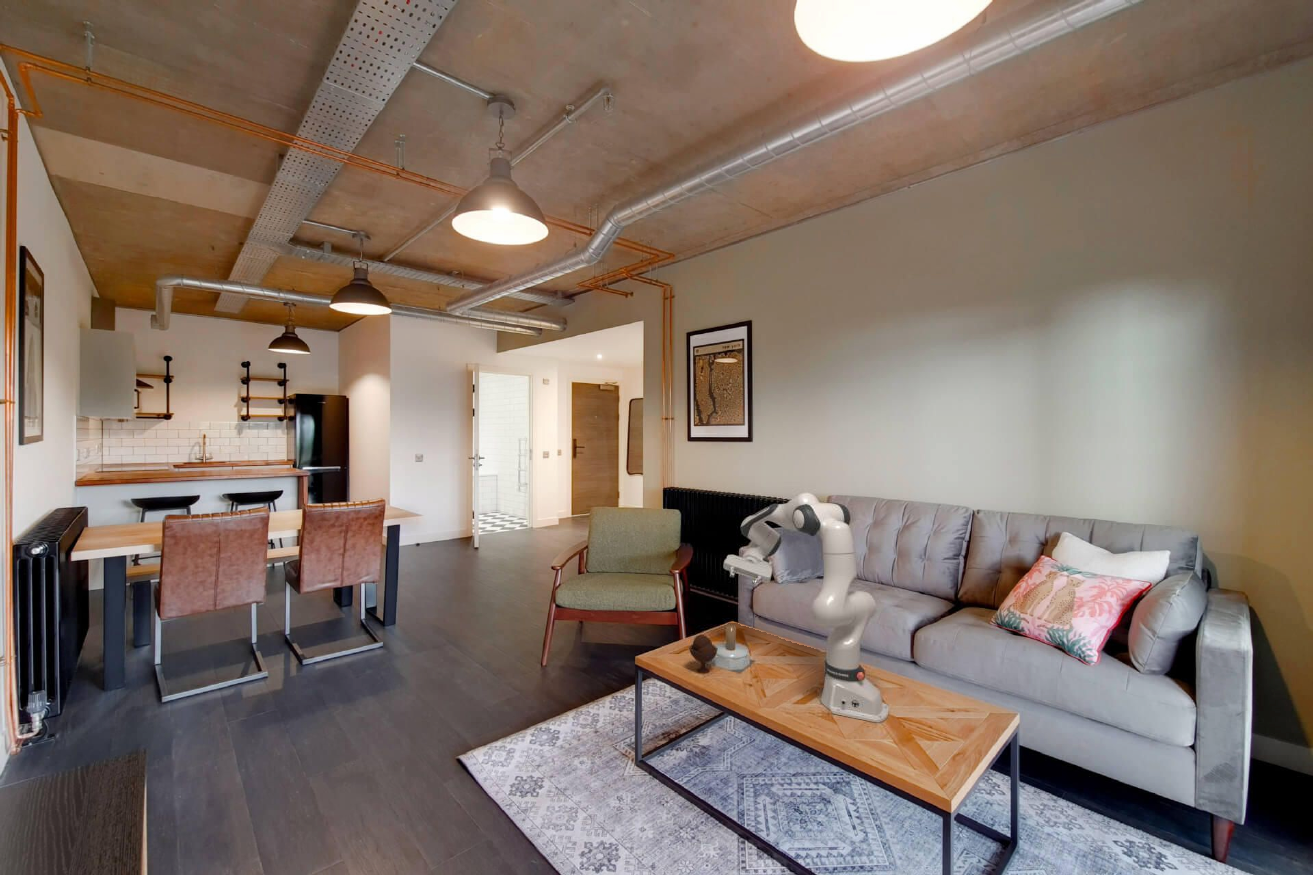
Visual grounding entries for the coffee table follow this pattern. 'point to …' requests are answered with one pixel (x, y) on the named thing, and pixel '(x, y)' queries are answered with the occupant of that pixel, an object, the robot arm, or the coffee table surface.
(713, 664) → the mat
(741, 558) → the robot arm
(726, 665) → the hexagonal peg stand
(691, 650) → the ice cream bowl
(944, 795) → the coffee table surface
